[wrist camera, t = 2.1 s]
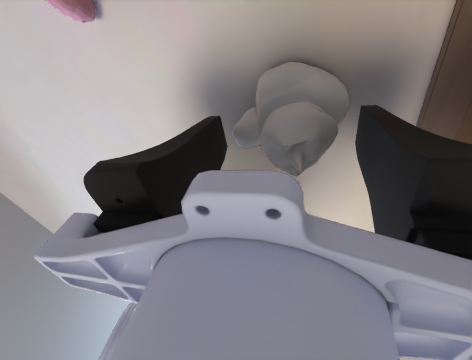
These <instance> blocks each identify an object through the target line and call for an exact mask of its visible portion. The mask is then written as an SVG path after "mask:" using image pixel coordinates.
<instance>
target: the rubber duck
mask: <svg viewBox="0 0 472 360" xmlns="http://www.w3.org/2000/svg"><path fill="white" fill-rule="evenodd" d="M255 102H256V107H254V108H251V109H249V110H247V111H246V112H245V114H244V116H243V117H242V119H241V120H239V122H238V123H237V124H236V125H235V126H234V128H233V133H232V134H233V139H234V141H235V142H236V144H237V145H238V146H240V147H241V148H244V149H247V148H251V147H255V146H258V145H260V144H261V146H262V149H263V151H264V153H265V154H266V156H267V157H268V158H269V160H270V161H271V162H272V163H273V164H274V165H275V166H277V167H278V168H280V169H281V170H283V171H285V172H287V173H289V174H291V175H293V176H298V175H300V174H301V173H302V172H303V171H304V170H306V169H307V168H309V167H311V166H312V165H314V164H315V163H316V162H317V161H318V159H319V158H320V157H321V156H322V155H323V154H324V153H325V151H326V150H327V149H328V148H329V147H330V146H331V144H332V143H333V141H334V140H335V138H336V136H337V133H338V126H339V124H340V122H341V121H342V119H343V118H344V116H345V115H346V113H347V110H348V107H349V99H348V93H347V90H346V88H345V86H344V85H343V84H342V82H341V81H340V80H339V79H338V78H337V77H335V76H333V75H331V74H330V73H328V72H326V71H324V70H322V69H319V68H317V67H311V66H309V65H307V64H303V63H298V62H288V63H285V64H282V65H279V66H277V67H275V68H272V69H270V70H267V71H266V72H265V73H263V75H262V76H261V77H260V79H259V81H258V85H257V94H256V98H255Z"/></svg>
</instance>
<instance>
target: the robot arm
mask: <svg viewBox="0 0 472 360" xmlns="http://www.w3.org/2000/svg"><path fill="white" fill-rule="evenodd" d="M355 144H356V152H357V158H358V162H359V165H360V168H361V171H362V175H363V178H364V181H365V184H366V187H367V190H368V194H369V198H370V204H371V210H372V216H373V222H374V229H375V233H373V232H369V231H366V230H362V229H359V228H355V227H351V226H348V225H344V224H341V223H337V222H334V221H330V220H327V219H323V218H319V217H316V216H312V215H309V214H308V213H306V211H305V210H304V205H303V191H302V188H301V185H300V183H299V182H298V181H297V180H296V179H294V178H293V177H292V176H290V175H289V174H287V173H282V172H277V171H273V170H220V169H221V166H222V164H223V162H224V159H225V155H226V151H227V143H226V138H225V134H224V130H223V126H222V121H221V117H220V116H210V117H208V118H206V119H204V120H202V121H200V122H199V123H197V124H196V125H194V126H192V127H191V128H189V129H188V130H186V131H184V132H183V133H181V134H179V135H177V136H176V137H174V138H172V139H170V140H168V141H166V142H164V143H162V144H160V145H157V146H155V147H152V148H149V149H147V150H144V151H141V152H138V153H135V154H131V155H127V156H124V157H119V158H114V159H109V160H104V161H99V162H98V163H97V164H96V165H95V166H93V167H92V168H91V169H90V170H89V171H88V172H87V173H86V174H85V176H84V185H85V188H86V190H87V191H88V193H89V194H90V196H91V197H92V198H93V199H94V201H95V202H96V203H97V205H98V206H99V207H100V208H101V210H102V211H103V212H102V213H101V215H100V216H99V217H98V216H96V215H94V214H87V213H74V214H73V215H72V216H71V217H70V218H69V219H68V220H67V221H66V222H65V223H64V224H63V225H62V226H61V228H60V229H59V230H58V231H57V232H56V233H55V234H54V235H53V236H52V237H51V238H50V239H49V240H48V241H47V242H46V244H45V245H44V246H43V247H42V248H41V249H40V250H39V251H38V252H37V253H36V254H35V255H34V259H36V260H37V261H38V262H40V263H41V264H42V265H43V266H45V267H46V268H47V269H48V270H50V271H51V272H53V273H54V274H55V275H56V276H57V277H59V278H60V279H61V280H63V281H64V282H65V283H66V284H68V285H69V286H71V287H76V288H81V289H86V290H90V291H94V292H98V293H102V294H105V295H109V296H112V297H116V298H119V299H122V300H125V301H128V302H131V303H130V304H129V305H128V306H127V308H126V309H125V311H124V312H123V314H122V315H121V317H120V319H119V320H118V322H117V324H116V326H115V327H114V329H113V331H112V333H111V335H110V337H109V339H108V341H107V343H106V345H105V347H104V349H103V351H102V353H101V355H100V357H99V359H98V360H400V359H399V358H408V359H420V360H472V144H469V143H464V142H461V141H457V140H453V139H449V138H446V137H443V136H439V135H437V134H434V133H431V132H428V131H426V130H423V129H421V128H419V127H416V126H414V125H412V124H410V123H408V122H406V121H404V120H402V119H400V118H399V117H397V116H395V115H393V114H392V113H390V112H388V111H386V110H385V109H383V108H381V107H379V106H377V105H366V106H361V110H360V116H359V122H358V129H357V135H356V141H355Z"/></svg>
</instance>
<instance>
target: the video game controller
mask: <svg viewBox="0 0 472 360" xmlns="http://www.w3.org/2000/svg"><path fill="white" fill-rule="evenodd" d="M46 1H47V2H48V3H49V4H51V5H52V6H53V7H55V8H56V9H57V10H59V11H60V12H61V13H63V14H64V15H66V16H68V17H70V18H72V19H74V20H77V21H79V22H84V23H85V22H92V21H93V20H94V19H95V16H96V9H95V7H94V4H93V2H92V0H46Z"/></svg>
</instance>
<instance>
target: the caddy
mask: <svg viewBox="0 0 472 360" xmlns="http://www.w3.org/2000/svg"><path fill="white" fill-rule="evenodd" d="M416 127H419V128H421V129H423V130H426V131H428V132H431V133H434V134H437V135H439V136H443V137H446V138H449V139H453V140H457V141H461V142H464V143H469V144H472V0H457V3H456V6H455V9H454V12H453V15H452V18H451V21H450V24H449V28H448V31H447V34H446V37H445V40H444V43H443V46H442V49H441V52H440V55H439V58H438V61H437V64H436V68H435V71H434V74H433V77H432V80H431V83H430V86H429V89H428V92H427V95H426V98H425V101H424V104H423V107H422V111H421V114H420V117H419V120H418V123H417V126H416Z"/></svg>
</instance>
